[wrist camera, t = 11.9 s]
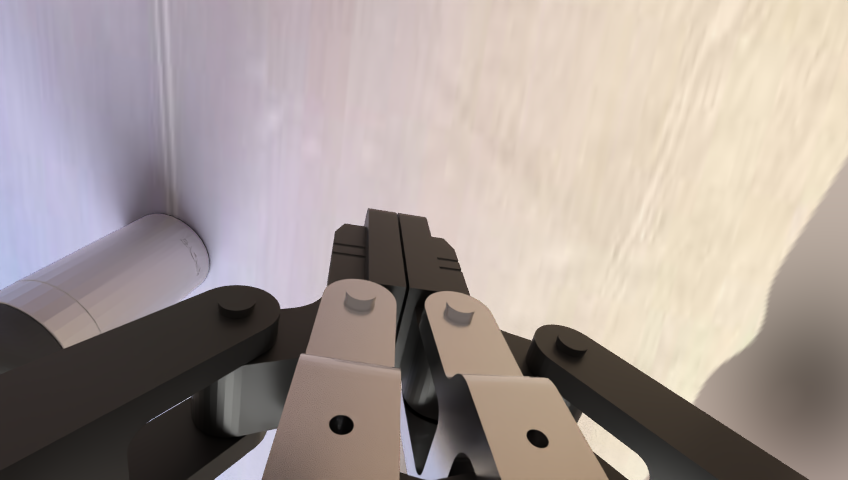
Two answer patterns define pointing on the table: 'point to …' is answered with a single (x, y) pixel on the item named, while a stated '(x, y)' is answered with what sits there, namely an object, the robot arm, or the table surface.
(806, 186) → the table surface
